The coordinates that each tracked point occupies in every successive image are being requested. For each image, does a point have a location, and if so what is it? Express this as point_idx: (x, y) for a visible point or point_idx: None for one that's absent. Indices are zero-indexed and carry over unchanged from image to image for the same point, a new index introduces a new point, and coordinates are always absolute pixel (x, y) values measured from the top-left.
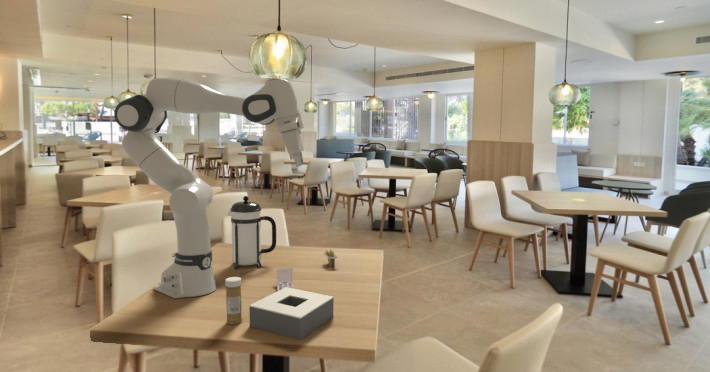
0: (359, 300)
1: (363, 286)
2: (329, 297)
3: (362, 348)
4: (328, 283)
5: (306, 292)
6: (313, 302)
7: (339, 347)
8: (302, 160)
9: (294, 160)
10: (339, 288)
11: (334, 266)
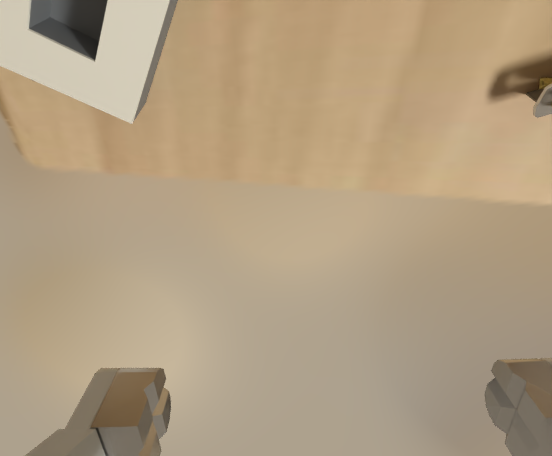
0: (248, 156)
1: (339, 166)
2: (124, 114)
3: (23, 156)
4: (373, 81)
5: (144, 49)
6: (77, 76)
7: (7, 118)
8: (511, 452)
9: (27, 454)
10: (329, 112)
11: (527, 94)
